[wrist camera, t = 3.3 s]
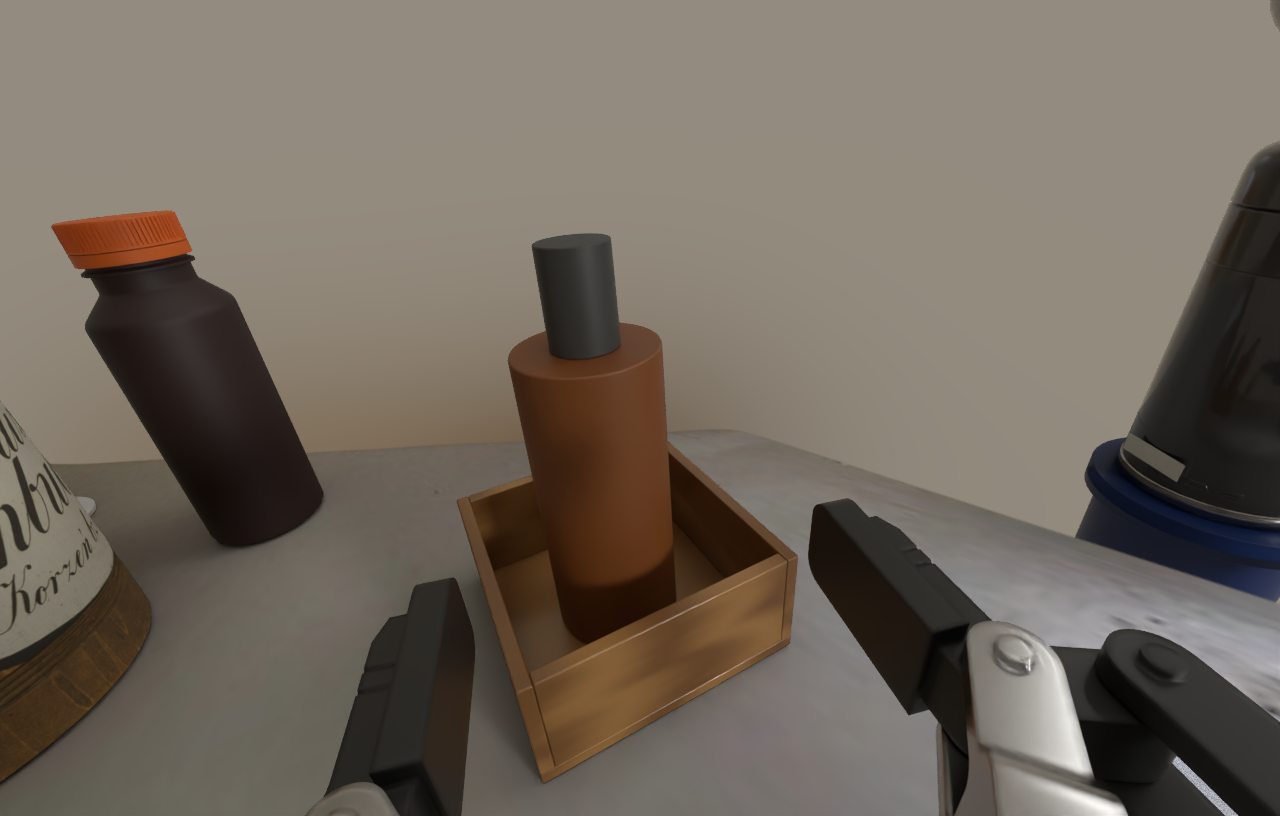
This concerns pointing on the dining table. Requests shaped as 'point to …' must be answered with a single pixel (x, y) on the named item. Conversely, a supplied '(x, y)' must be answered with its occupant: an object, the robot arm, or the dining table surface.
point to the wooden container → (55, 604)
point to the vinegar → (193, 376)
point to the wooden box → (644, 650)
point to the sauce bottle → (596, 442)
